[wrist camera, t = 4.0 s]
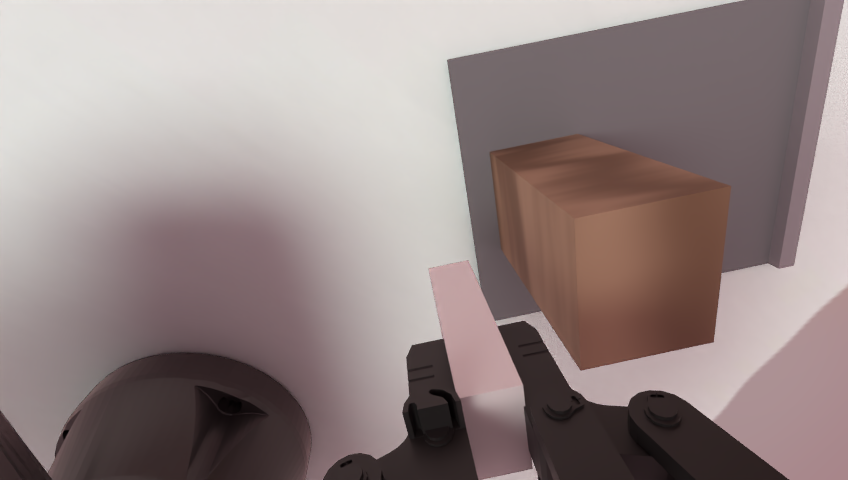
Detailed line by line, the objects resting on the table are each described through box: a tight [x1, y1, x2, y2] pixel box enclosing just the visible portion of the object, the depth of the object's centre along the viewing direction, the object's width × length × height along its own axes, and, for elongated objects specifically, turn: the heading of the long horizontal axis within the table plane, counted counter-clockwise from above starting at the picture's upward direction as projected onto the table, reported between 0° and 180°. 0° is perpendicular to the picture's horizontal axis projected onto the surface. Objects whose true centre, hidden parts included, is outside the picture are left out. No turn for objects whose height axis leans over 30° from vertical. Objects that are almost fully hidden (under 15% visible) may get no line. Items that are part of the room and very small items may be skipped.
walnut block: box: [489, 134, 731, 370], centre depth 19 cm, size 5×6×11 cm
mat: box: [447, 0, 844, 321], centre depth 24 cm, size 20×16×1 cm
